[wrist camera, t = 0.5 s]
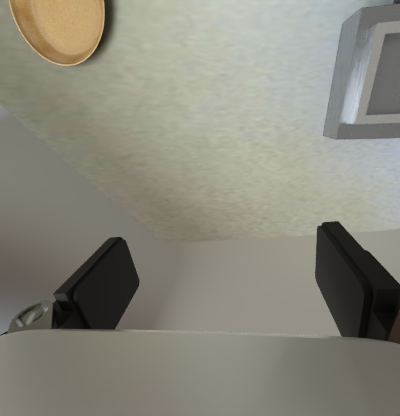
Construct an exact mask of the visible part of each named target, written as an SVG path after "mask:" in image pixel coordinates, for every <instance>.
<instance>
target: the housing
mask: <svg viewBox="0 0 400 416" xmlns="http://www.w3.org/2000/svg"><path fill="white" fill-rule="evenodd" d="M323 136H326V137H329V138H333V139H375V138H400V0H394V4H393V5H384V6H375V7H366V8H361V9H360V10H359V11H358V12H356V13H355V14H354V15H353V16H352V17H350V18H349V19H348V20H347V21H345V22H344V23H343V24H342V29H341V34H340V40H339V46H338V52H337V57H336V63H335V69H334V75H333V80H332V86H331V92H330V98H329V104H328V109H327V115H326V121H325V127H324V132H323Z"/></svg>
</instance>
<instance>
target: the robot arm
mask: <svg viewBox="0 0 400 416" xmlns="http://www.w3.org/2000/svg"><path fill="white" fill-rule="evenodd" d="M315 277H316V281H317V284H318V286H319V288H320V291H321V293H322V295H323V297H324V299H325V301H326V304H327V306H328V308H329V310H330V312H331V314H332V316H333V318H334V320H335V323H336V325H337V327H338V329H339V331H340V334H341V336H342V337H339V336H324V335H299V334H272V333H239V332H203V331H202V332H201V331H161V330H160V331H159V330H115V328H116V326H117V324H118V323H119V321H120V319H121V317H122V315H123V314H124V312H125V310H126V308H127V306H128V305H129V303H130V301H131V299H132V297H133V296H134V294H135V292H136V290H137V288H138V286H139V278H138V275H137V272H136V269H135V266H134V263H133V260H132V257H131V254H130V251H129V249H128V246H127V243H126V241H125V240H123V238H121V237H113V238H109V239H108V240H107V241H106V242H105V243H104V244H103V245H102V246H101V247H100V248H99V249H98V250H97V251H96V252H95V253H94V254H93V255H92V256H91V257H90V258H89V259H88V260H87V261H86V262H85V263H84V264H83V265H82V266H81V267H80V268H79V269H78V270H77V271H76V272H75V273H74V274H73V275H72V276H71V277H70V278H69V279H68V280H67V281H66V282H65V283H64V284H63V285H62V286H61V287H60V288H59V289H58V290H57V291H56V292H55V293H54V294H53V295H54V297H55V298H56V301H55V302H54V303H53V302H52V301H50V300H41V301H38V302H35V303H33V304H31V305H29V306H27V307H26V308H24V309H23V310H21V311H20V312H19V313H18V314H17V315H16V316H15V317H14V318H13V319H12V321H11V323H10V325H9V329H8V331H7V332H5V333H3V334H1V335H0V416H400V284H399V283H398V282H397V281H396V280H395V279H394V278H393V277H392V276H391V275H390V273H388V271H387V270H386V269H385V268H384V267H383V266H382V265H381V264H380V263H379V262H378V261H377V260H376V259H375V258H374V256H372V255H371V253H370V252H368V251H366V250H364V249H363V248H362V247H361V246H360V245H359V244H358V243H357V242H356V240H355V239H354V238H353V237H352V236H351V235H350V234H349V233H348V232H347V231H346V229H345V228H344V227H343V226H342V225H341V224H340V223H339V222H338V221H335V222H323V223H322V226H318V228H317V246H316V270H315Z"/></svg>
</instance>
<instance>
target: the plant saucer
mask: <svg viewBox="0 0 400 416" xmlns="http://www.w3.org/2000/svg"><path fill="white" fill-rule="evenodd" d="M9 5H10V9H11V12H12V15H13V18H14V21H15V23H16V25H17V27H18V29H19V31H20V32H21V34H22V36H23V37H24V39H25V40H26V42H27V43H28V44H29V45H30V46H31V48H32V49H33V50H34V51H36V52H37V53H38V54H39V55H40V56H41V57H43V58H44V59H46V60H48V61H50V62H52V63H54V64H57V65H62V66H72V65H76V64H79V63H81V62H83V61H85V60H86V59H87V58H88V57H90V55H91V54H92V53H93V52H94V51H95V49H96V47H97V46H98V44H99V41H100V39H101V36H102V32H103V28H104V20H105V8H104V0H9Z"/></svg>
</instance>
